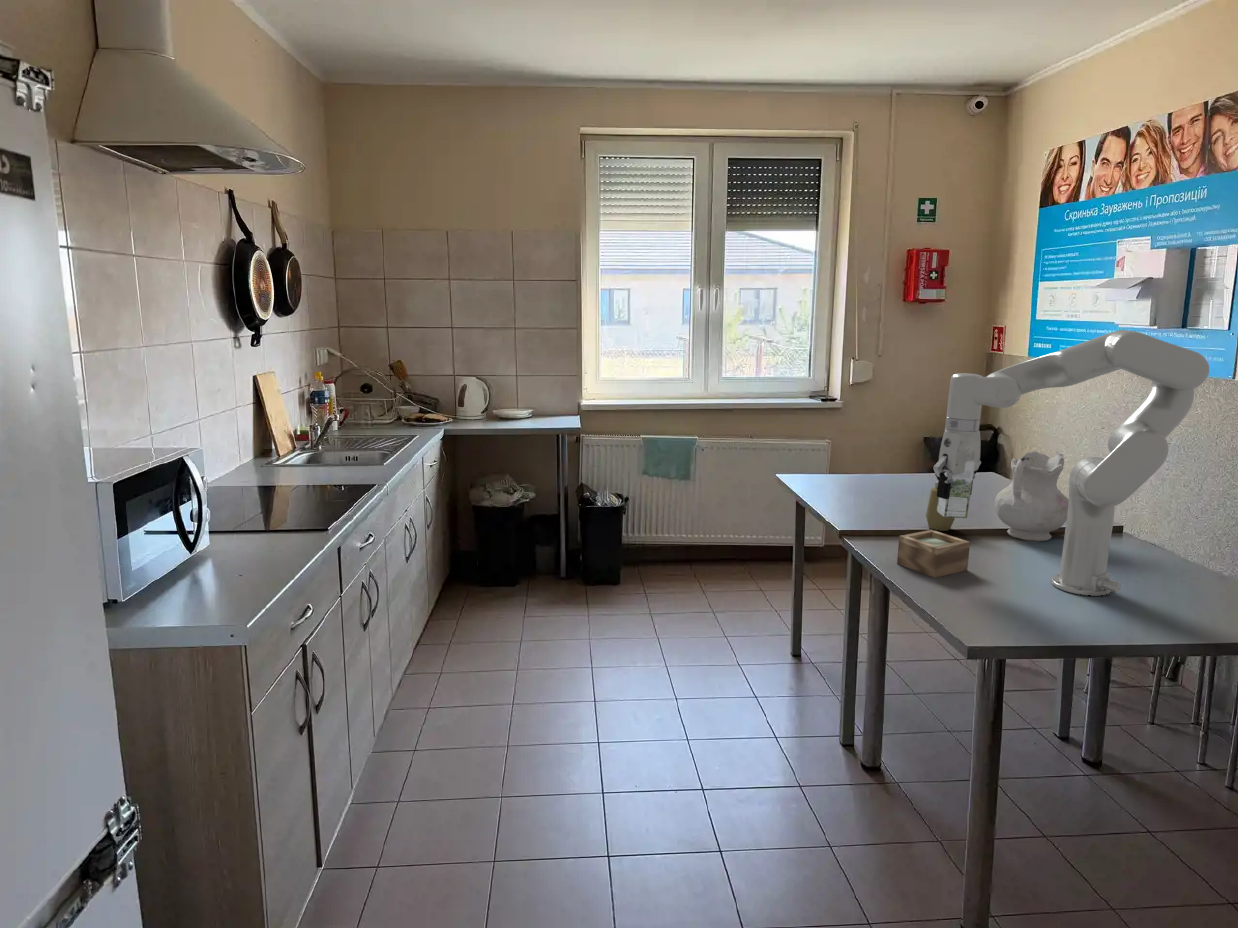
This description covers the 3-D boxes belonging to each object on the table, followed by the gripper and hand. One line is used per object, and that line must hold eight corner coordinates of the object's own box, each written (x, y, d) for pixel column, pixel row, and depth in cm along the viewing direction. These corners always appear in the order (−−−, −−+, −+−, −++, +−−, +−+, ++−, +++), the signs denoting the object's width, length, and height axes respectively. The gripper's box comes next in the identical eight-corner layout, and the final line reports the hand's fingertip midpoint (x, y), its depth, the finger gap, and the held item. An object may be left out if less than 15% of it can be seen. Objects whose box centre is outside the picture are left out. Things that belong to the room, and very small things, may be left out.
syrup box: (959, 512, 204) (966, 455, 201) (967, 518, 199) (975, 460, 196) (936, 511, 205) (942, 454, 202) (943, 517, 199) (950, 459, 196)
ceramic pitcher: (1054, 555, 224) (1073, 467, 218) (979, 536, 235) (996, 452, 229) (1068, 537, 241) (1086, 455, 235) (997, 520, 252) (1013, 442, 246)
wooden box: (967, 570, 208) (970, 541, 206) (934, 577, 202) (937, 548, 201) (929, 556, 218) (931, 529, 217) (896, 563, 213) (899, 535, 211)
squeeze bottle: (935, 533, 239) (941, 473, 236) (919, 525, 247) (924, 467, 243) (959, 531, 242) (965, 471, 238) (942, 524, 249) (947, 466, 245)
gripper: (952, 430, 189) (943, 503, 193) (998, 425, 198) (989, 495, 202) (925, 425, 196) (917, 496, 199) (971, 420, 205) (963, 489, 208)
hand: (954, 495), depth 201 cm, fingers closed on syrup box, 7 cm apart
